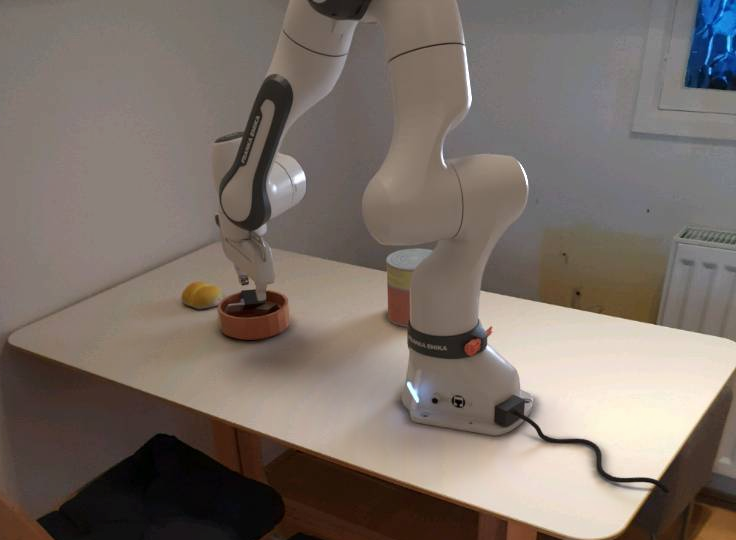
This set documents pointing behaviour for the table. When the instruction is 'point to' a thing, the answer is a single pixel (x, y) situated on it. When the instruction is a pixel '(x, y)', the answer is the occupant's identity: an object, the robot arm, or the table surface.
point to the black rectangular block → (245, 302)
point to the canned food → (402, 282)
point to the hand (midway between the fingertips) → (252, 291)
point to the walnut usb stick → (266, 309)
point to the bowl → (254, 318)
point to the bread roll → (202, 295)
